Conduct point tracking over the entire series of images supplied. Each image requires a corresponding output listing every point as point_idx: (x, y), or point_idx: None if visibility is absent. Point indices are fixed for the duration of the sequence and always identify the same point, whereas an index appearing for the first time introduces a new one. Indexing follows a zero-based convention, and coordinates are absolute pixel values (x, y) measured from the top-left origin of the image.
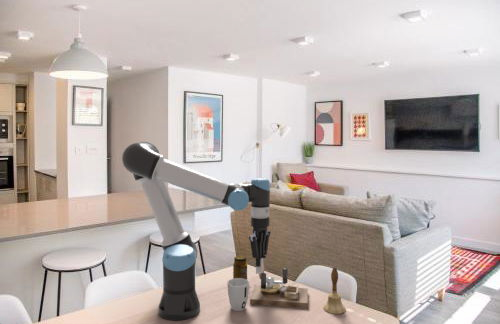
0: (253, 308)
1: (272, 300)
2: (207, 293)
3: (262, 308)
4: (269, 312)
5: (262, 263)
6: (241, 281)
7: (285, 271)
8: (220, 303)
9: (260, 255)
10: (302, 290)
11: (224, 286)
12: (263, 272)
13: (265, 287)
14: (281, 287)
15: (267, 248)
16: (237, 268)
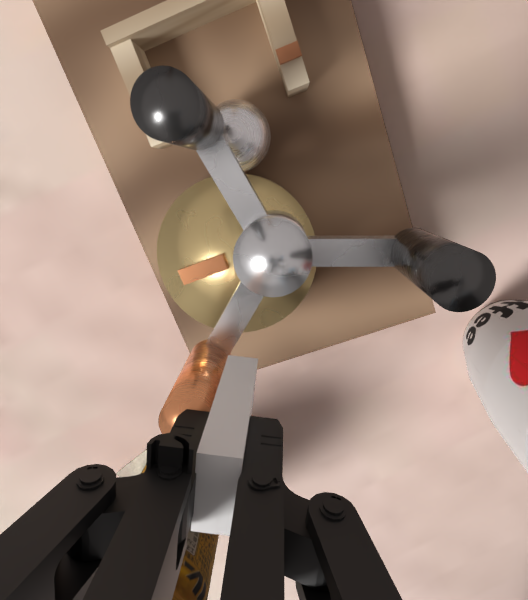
0: None
1: (391, 160)
2: (392, 562)
3: (451, 203)
4: (491, 132)
5: (229, 414)
6: (517, 433)
7: (198, 88)
8: (484, 450)
9: (263, 510)
10: (93, 13)
11: None
12: (208, 362)
13: (421, 229)
14: (258, 140)
15: (2, 538)
16: (207, 581)
